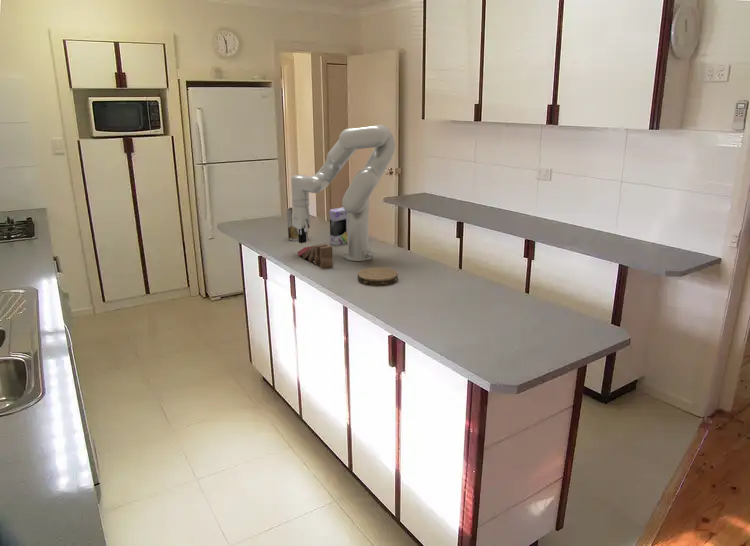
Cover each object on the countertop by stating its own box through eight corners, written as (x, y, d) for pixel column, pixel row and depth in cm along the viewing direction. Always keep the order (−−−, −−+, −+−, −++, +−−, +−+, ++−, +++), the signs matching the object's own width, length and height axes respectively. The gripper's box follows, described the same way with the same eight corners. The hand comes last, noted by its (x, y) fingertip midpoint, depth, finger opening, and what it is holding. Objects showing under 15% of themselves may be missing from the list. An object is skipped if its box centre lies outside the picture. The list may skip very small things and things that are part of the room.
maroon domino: (297, 252, 249) (304, 247, 241) (307, 250, 252) (314, 245, 244) (298, 256, 249) (305, 251, 241) (308, 254, 251) (315, 250, 244)
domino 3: (314, 263, 236) (315, 245, 232) (324, 261, 239) (325, 243, 234) (316, 265, 235) (317, 247, 230) (326, 263, 237) (327, 245, 233)
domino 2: (308, 258, 240) (313, 245, 234) (318, 257, 243) (323, 244, 236) (310, 262, 239) (314, 249, 233) (320, 260, 242) (325, 247, 235)
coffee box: (308, 238, 281) (307, 207, 276) (305, 241, 275) (304, 209, 270) (291, 237, 282) (289, 207, 277) (288, 240, 276) (286, 209, 271)
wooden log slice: (351, 284, 212) (351, 277, 211) (366, 272, 226) (366, 265, 225) (390, 288, 207) (390, 281, 206) (402, 276, 221) (402, 269, 220)
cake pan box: (334, 246, 265) (333, 210, 260) (327, 244, 269) (326, 209, 264) (364, 239, 278) (363, 205, 272) (357, 238, 281) (357, 204, 276)
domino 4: (320, 267, 231) (319, 247, 229) (330, 265, 234) (330, 245, 231) (322, 269, 230) (321, 248, 227) (332, 267, 232) (332, 246, 230)
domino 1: (302, 255, 245) (309, 247, 237) (312, 253, 247) (319, 245, 240) (304, 259, 244) (310, 251, 237) (314, 257, 247) (321, 250, 239)
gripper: (286, 201, 247) (288, 240, 253) (300, 206, 235) (302, 247, 241) (301, 199, 251) (302, 238, 256) (315, 204, 239) (317, 244, 245)
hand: (302, 242), depth 249 cm, fingers closed
